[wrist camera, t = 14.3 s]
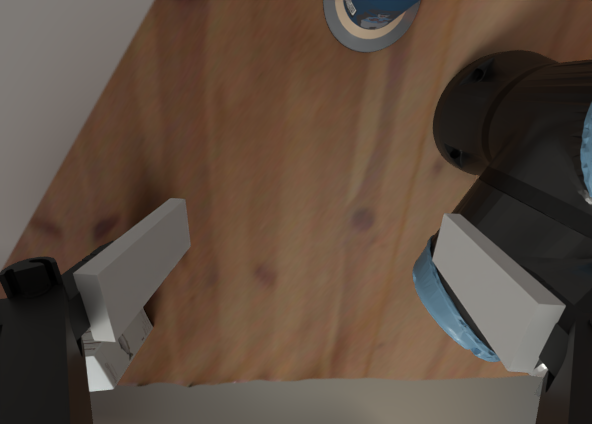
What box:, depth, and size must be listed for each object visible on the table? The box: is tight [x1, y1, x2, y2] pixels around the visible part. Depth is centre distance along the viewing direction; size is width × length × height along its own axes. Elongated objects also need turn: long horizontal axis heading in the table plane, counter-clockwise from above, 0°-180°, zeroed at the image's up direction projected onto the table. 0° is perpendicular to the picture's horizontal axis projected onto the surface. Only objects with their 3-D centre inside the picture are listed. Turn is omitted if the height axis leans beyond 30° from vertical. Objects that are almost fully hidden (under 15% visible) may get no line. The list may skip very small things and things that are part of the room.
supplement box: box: [81, 308, 153, 392], centre depth 49 cm, size 7×7×13 cm
